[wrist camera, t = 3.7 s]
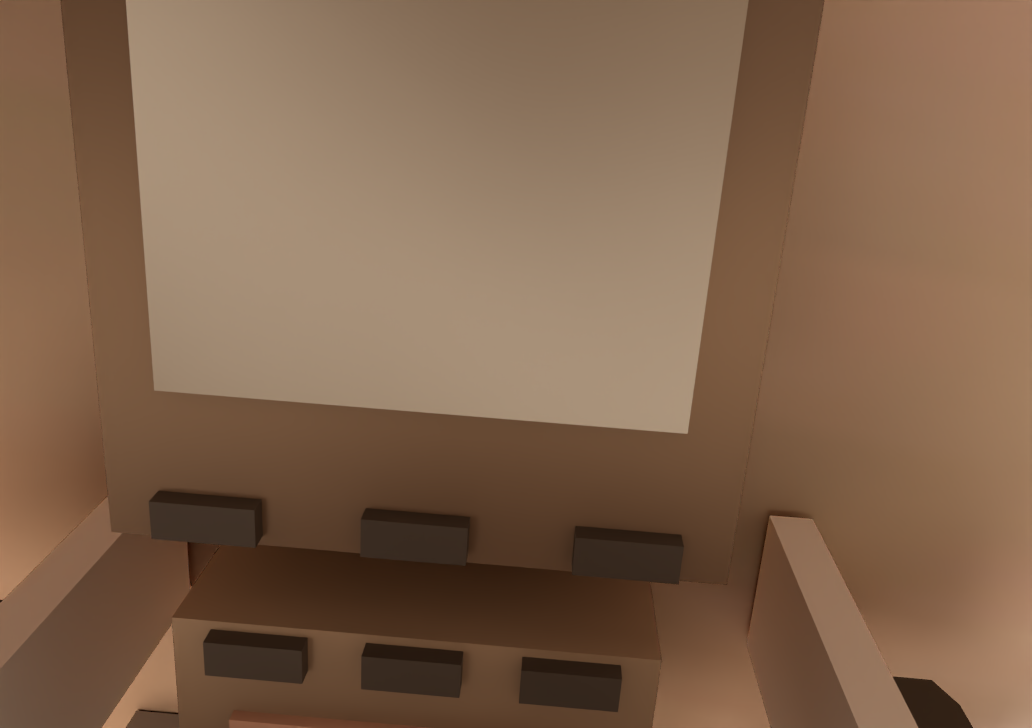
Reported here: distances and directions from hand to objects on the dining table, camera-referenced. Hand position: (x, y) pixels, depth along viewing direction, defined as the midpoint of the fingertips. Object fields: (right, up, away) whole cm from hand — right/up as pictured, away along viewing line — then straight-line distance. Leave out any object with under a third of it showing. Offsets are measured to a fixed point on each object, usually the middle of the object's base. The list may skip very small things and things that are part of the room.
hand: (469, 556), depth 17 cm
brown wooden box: (+1, +10, -3) cm, 10 cm away
